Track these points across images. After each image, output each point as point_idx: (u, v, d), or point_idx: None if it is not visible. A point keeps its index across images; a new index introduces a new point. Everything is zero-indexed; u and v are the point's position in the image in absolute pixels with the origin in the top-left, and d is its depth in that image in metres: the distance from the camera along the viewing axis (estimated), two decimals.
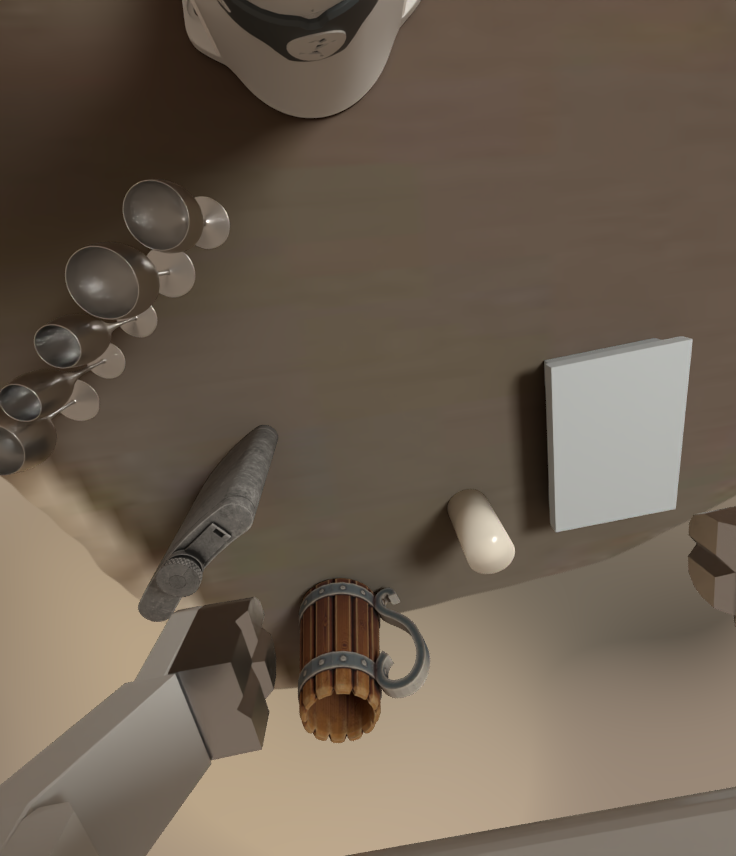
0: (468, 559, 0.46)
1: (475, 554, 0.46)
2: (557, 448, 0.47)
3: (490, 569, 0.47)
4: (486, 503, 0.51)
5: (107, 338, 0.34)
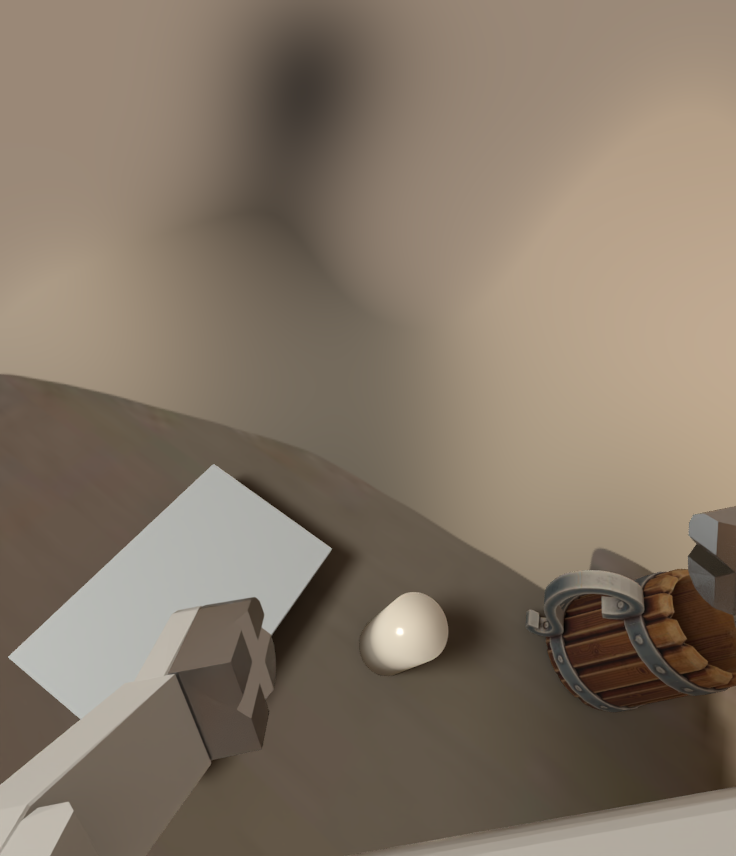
0: (444, 643, 0.34)
1: (432, 643, 0.34)
2: None
3: (430, 605, 0.35)
4: (367, 648, 0.38)
5: None
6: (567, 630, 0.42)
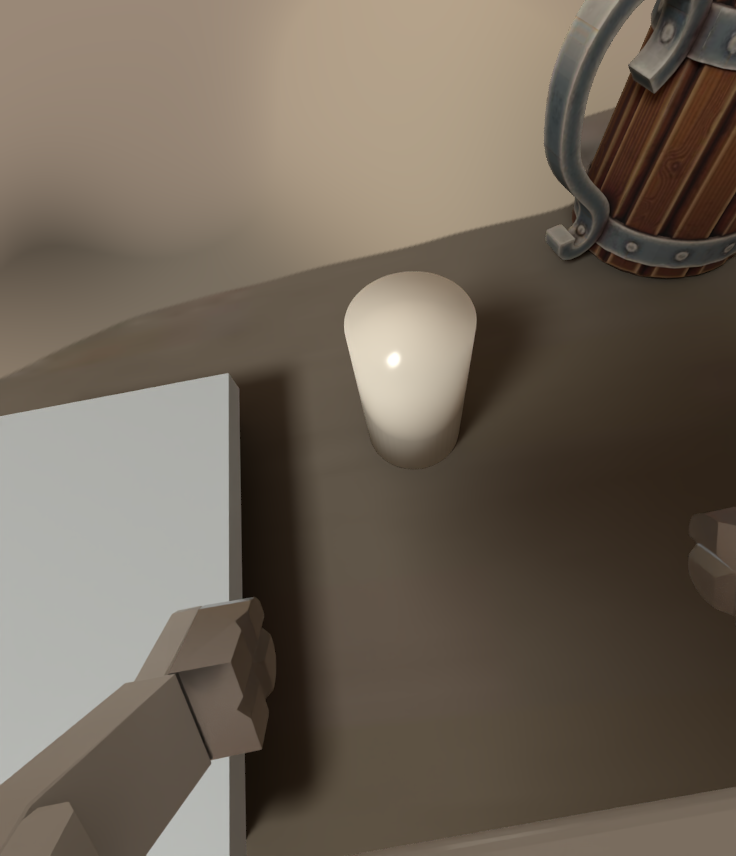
0: (470, 306, 0.17)
1: (453, 319, 0.17)
2: (218, 596, 0.18)
3: (405, 281, 0.18)
4: (386, 441, 0.22)
5: None
6: (612, 202, 0.26)
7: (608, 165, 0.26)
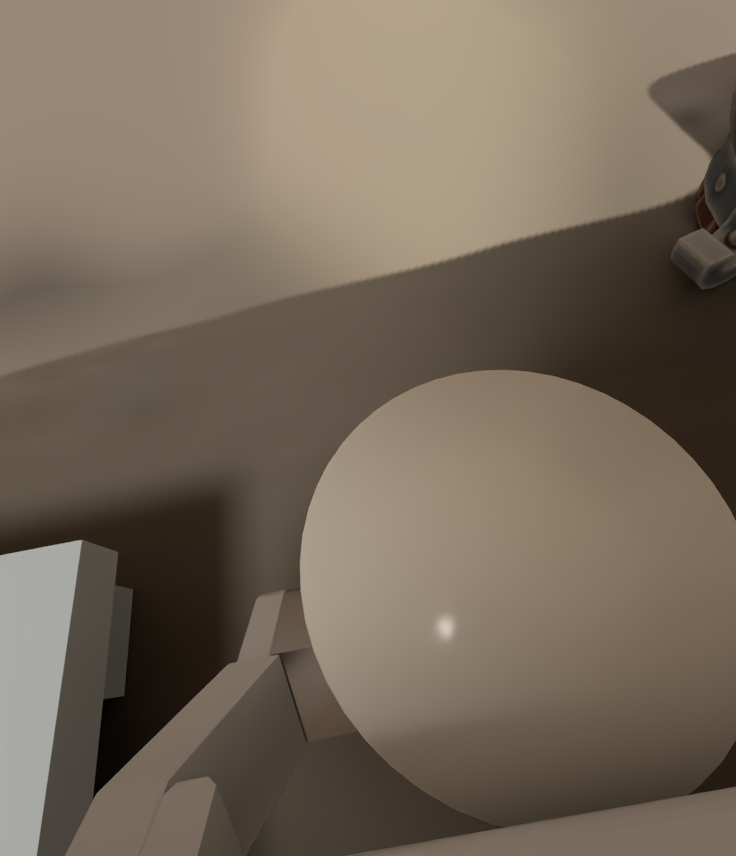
0: (714, 507, 0.05)
1: (668, 561, 0.05)
2: None
3: (484, 405, 0.06)
4: None
5: None
6: None
7: None
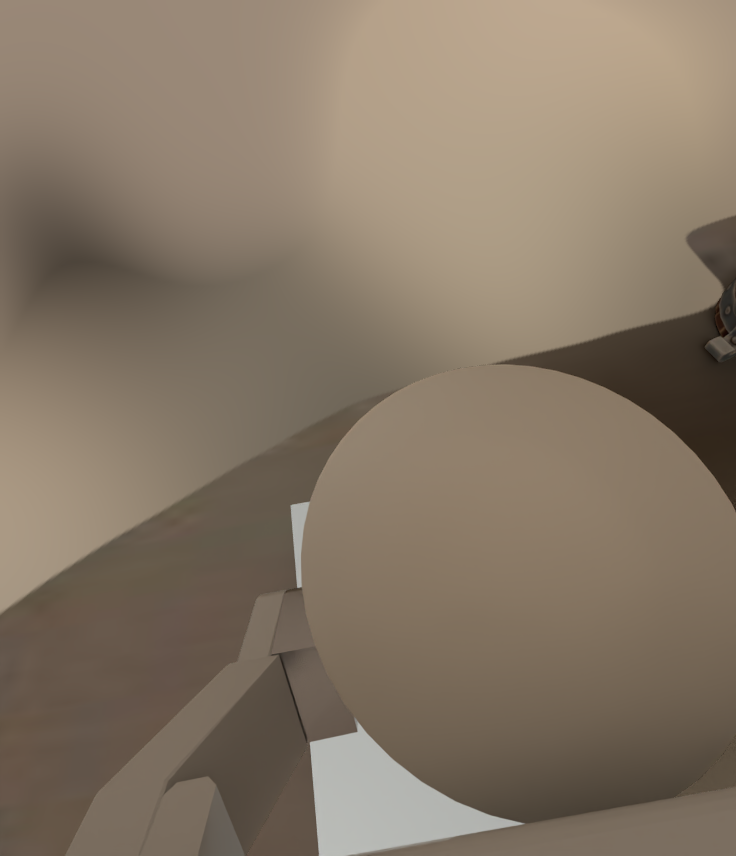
0: (715, 500, 0.05)
1: (669, 554, 0.05)
2: None
3: (485, 399, 0.06)
4: None
5: None
6: None
7: None
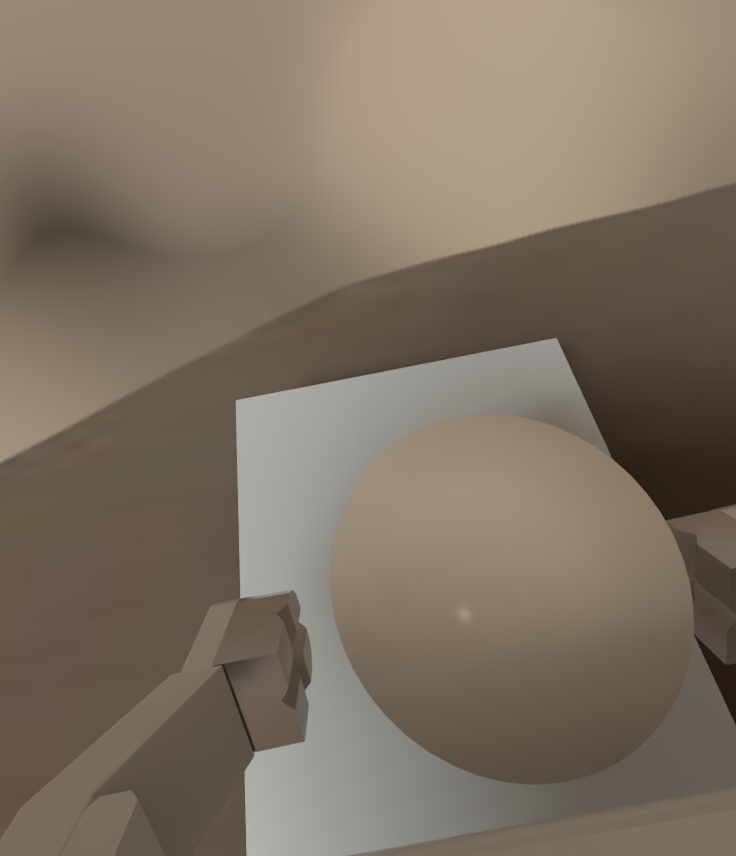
0: (660, 531, 0.06)
1: (622, 575, 0.06)
2: None
3: (479, 444, 0.07)
4: None
5: None
6: None
7: None
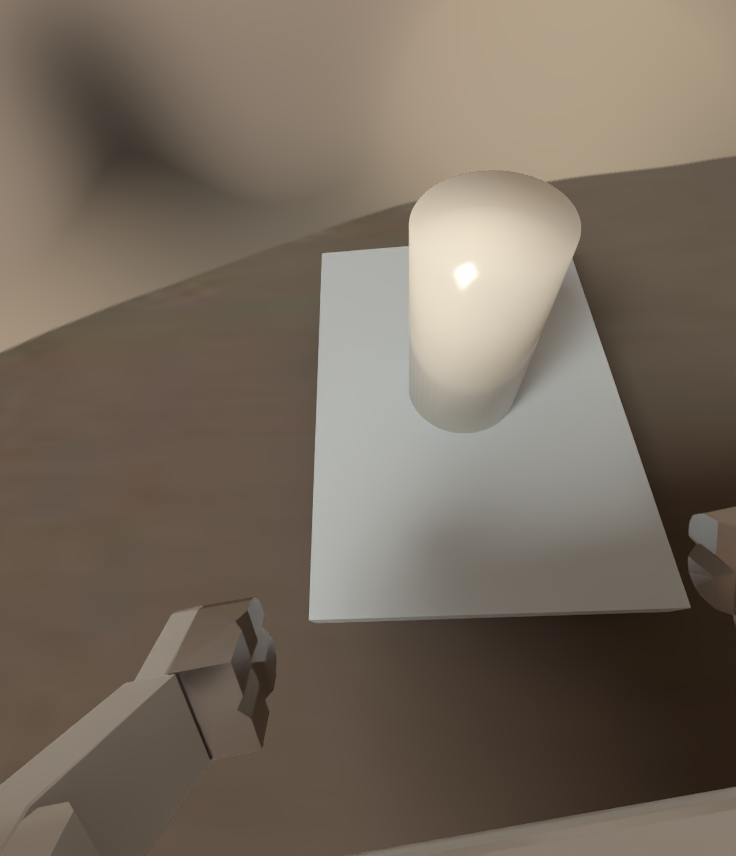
0: (573, 214, 0.13)
1: (550, 226, 0.13)
2: (608, 395, 0.20)
3: (490, 181, 0.14)
4: (432, 391, 0.18)
5: None
6: None
7: None
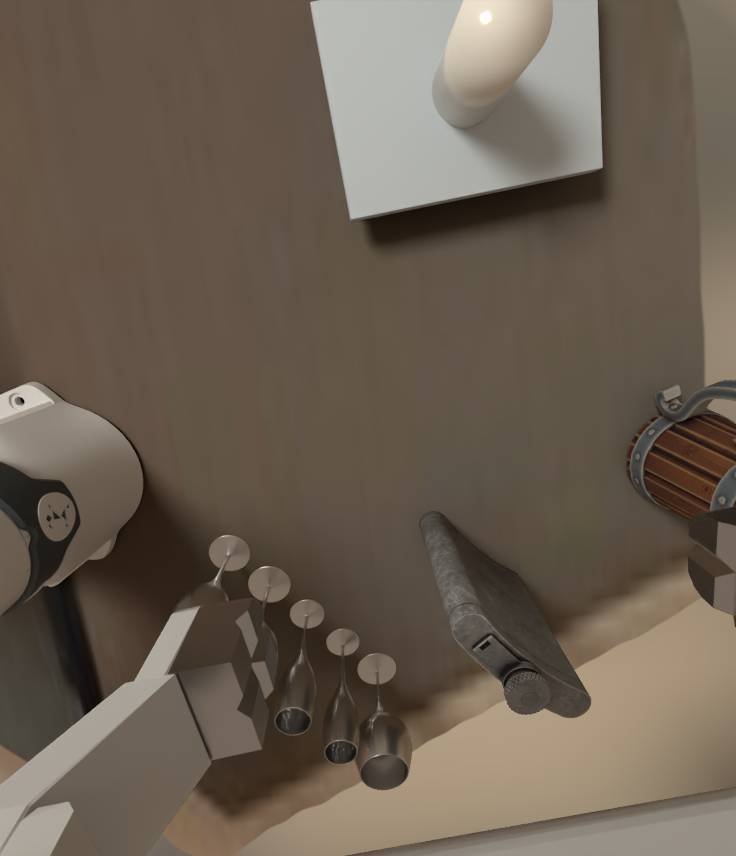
0: (512, 67, 0.25)
1: (502, 52, 0.24)
2: (464, 190, 0.35)
3: (542, 13, 0.24)
4: None
5: (299, 672, 0.41)
6: (685, 424, 0.41)
7: (713, 424, 0.40)
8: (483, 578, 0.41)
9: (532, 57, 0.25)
